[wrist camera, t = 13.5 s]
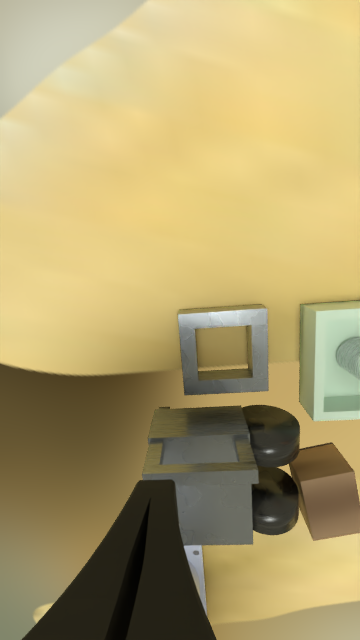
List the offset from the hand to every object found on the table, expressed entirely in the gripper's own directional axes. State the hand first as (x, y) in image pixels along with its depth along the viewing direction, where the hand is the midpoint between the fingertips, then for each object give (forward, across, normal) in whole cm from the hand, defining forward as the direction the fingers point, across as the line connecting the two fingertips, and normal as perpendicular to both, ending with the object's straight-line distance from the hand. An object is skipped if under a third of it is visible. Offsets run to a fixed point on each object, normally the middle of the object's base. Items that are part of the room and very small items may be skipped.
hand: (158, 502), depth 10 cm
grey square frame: (+10, -4, -2) cm, 11 cm away
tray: (+10, -12, -2) cm, 16 cm away
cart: (+10, -3, +5) cm, 12 cm away
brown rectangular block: (+11, -10, +8) cm, 17 cm away
